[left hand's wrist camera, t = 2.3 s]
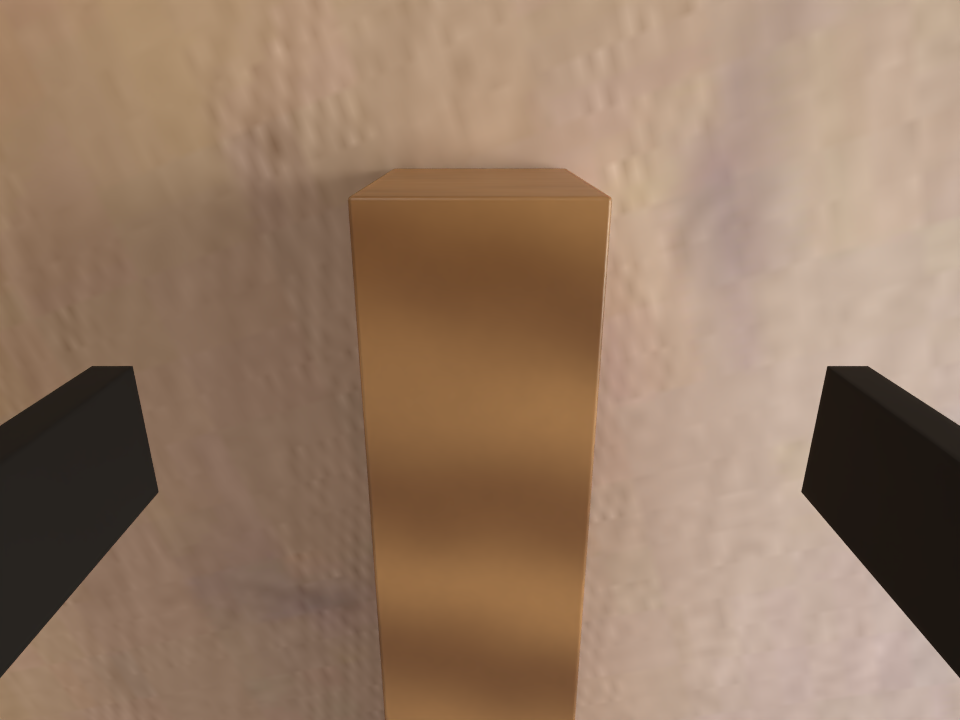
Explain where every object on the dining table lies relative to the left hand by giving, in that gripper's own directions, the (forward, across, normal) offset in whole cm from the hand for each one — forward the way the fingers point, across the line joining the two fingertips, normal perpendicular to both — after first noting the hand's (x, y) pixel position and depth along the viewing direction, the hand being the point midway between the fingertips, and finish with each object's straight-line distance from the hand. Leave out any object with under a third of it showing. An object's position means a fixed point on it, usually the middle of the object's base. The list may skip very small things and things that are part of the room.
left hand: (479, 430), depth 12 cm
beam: (+12, 0, -29) cm, 32 cm away
